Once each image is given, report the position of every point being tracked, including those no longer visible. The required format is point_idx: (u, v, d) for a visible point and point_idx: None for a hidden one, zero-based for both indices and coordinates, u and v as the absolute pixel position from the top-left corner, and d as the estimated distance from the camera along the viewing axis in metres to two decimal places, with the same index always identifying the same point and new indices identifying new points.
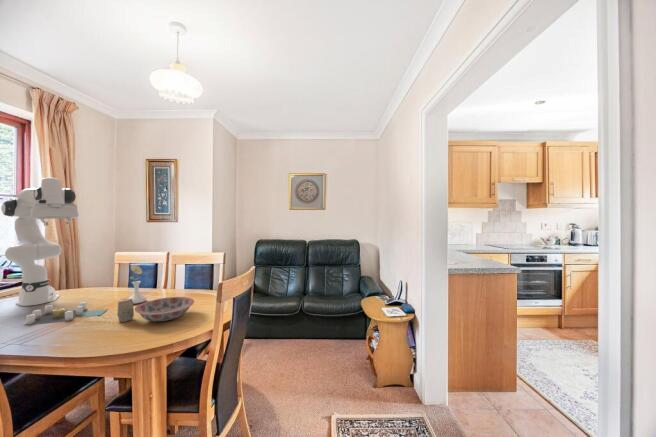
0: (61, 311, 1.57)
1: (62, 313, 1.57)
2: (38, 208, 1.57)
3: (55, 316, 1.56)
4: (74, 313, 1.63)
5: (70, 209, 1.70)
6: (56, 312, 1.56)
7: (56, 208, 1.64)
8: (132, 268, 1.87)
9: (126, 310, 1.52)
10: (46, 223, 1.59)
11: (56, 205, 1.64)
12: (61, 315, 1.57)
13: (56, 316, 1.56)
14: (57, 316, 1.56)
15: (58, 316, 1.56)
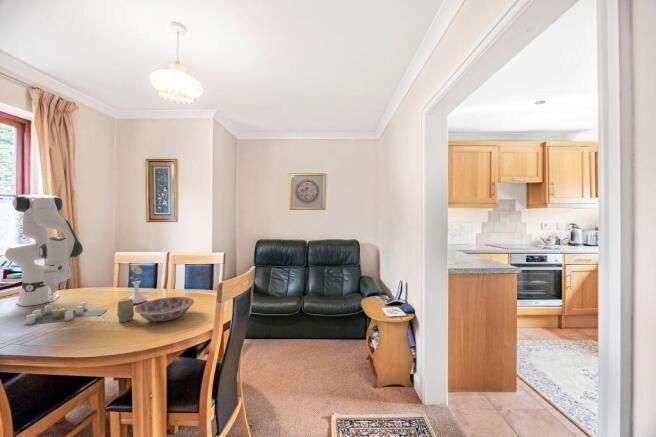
0: (61, 311, 1.57)
1: (62, 313, 1.57)
2: (54, 275, 1.51)
3: (55, 316, 1.56)
4: (74, 313, 1.63)
5: (67, 271, 1.64)
6: (56, 312, 1.56)
7: (62, 272, 1.58)
8: (132, 268, 1.87)
9: (126, 310, 1.52)
10: (55, 290, 1.53)
11: (64, 270, 1.58)
12: (61, 315, 1.57)
13: (56, 316, 1.56)
14: (57, 316, 1.56)
15: (58, 316, 1.56)
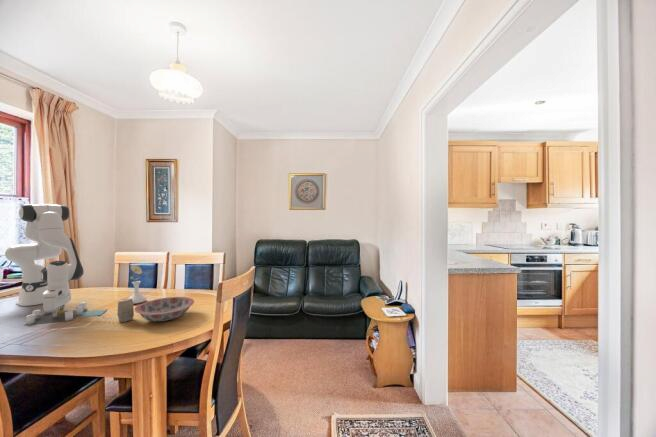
0: (61, 311, 1.57)
1: (62, 313, 1.58)
2: (55, 301, 1.51)
3: (55, 316, 1.56)
4: (74, 313, 1.63)
5: (67, 294, 1.64)
6: None
7: (62, 296, 1.58)
8: (132, 268, 1.87)
9: (126, 310, 1.52)
10: (57, 314, 1.55)
11: (64, 294, 1.59)
12: (61, 315, 1.57)
13: (56, 316, 1.56)
14: (57, 316, 1.56)
15: (58, 316, 1.56)
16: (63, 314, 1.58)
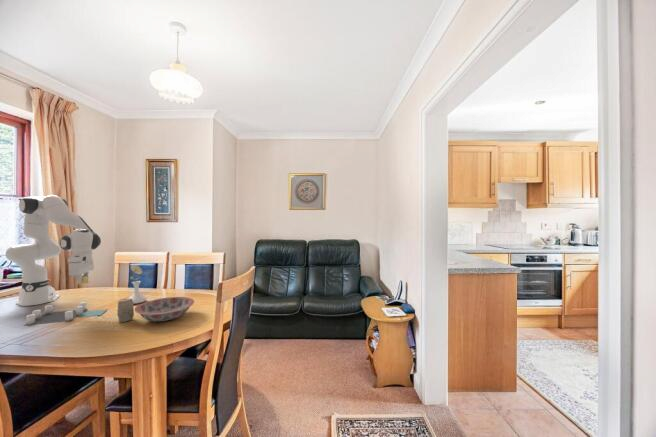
0: (85, 277, 1.60)
1: (86, 279, 1.61)
2: (79, 266, 1.54)
3: (79, 282, 1.59)
4: (74, 313, 1.63)
5: (90, 262, 1.67)
6: None
7: (85, 263, 1.62)
8: (132, 268, 1.87)
9: (126, 310, 1.52)
10: (81, 280, 1.58)
11: (88, 261, 1.62)
12: (85, 281, 1.60)
13: (80, 282, 1.59)
14: (81, 282, 1.59)
15: (82, 282, 1.59)
16: (87, 281, 1.61)
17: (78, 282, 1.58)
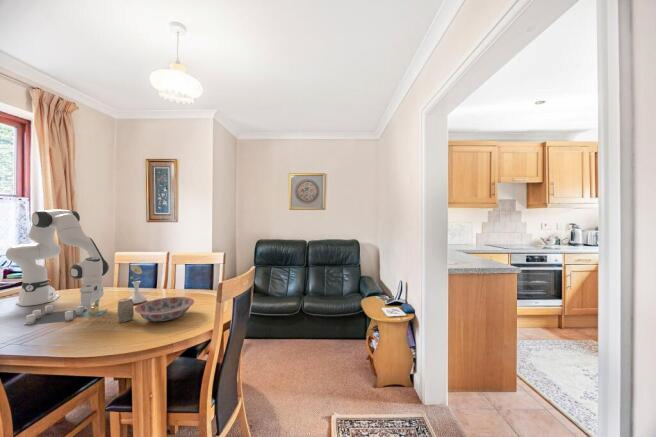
0: (96, 308, 1.63)
1: (96, 310, 1.63)
2: None
3: (90, 312, 1.61)
4: (74, 313, 1.63)
5: (100, 289, 1.70)
6: None
7: (96, 291, 1.64)
8: (132, 268, 1.87)
9: (126, 310, 1.52)
10: (91, 309, 1.59)
11: (99, 289, 1.64)
12: (96, 312, 1.63)
13: (91, 312, 1.61)
14: (92, 312, 1.61)
15: (93, 312, 1.62)
16: (97, 311, 1.64)
17: (89, 313, 1.61)
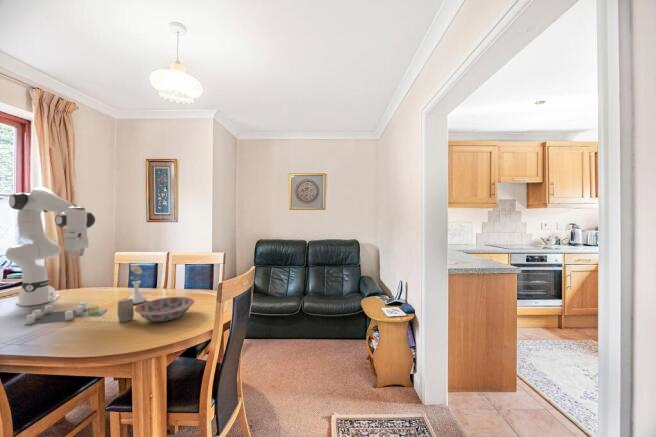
0: (96, 308, 1.63)
1: (96, 310, 1.63)
2: (74, 242, 1.59)
3: (90, 312, 1.61)
4: (74, 313, 1.63)
5: (85, 240, 1.72)
6: (91, 309, 1.61)
7: (80, 240, 1.66)
8: (132, 268, 1.87)
9: (126, 310, 1.52)
10: (75, 256, 1.62)
11: (83, 238, 1.67)
12: (96, 312, 1.63)
13: (91, 312, 1.61)
14: (92, 312, 1.61)
15: (93, 312, 1.62)
16: (97, 311, 1.64)
17: (89, 313, 1.61)
